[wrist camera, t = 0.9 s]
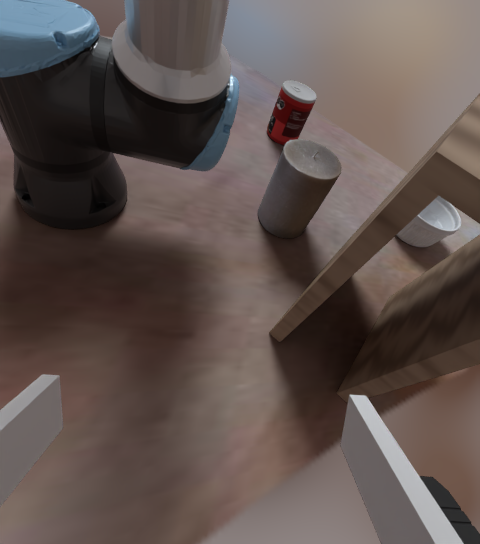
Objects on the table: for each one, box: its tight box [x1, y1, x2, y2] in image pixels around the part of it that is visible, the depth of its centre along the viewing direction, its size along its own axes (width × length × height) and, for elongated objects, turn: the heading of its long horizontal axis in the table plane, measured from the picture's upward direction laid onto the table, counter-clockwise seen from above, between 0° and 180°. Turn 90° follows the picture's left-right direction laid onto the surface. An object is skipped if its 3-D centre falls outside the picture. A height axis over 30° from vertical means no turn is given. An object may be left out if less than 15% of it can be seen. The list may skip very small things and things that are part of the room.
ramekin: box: [396, 196, 461, 247], centre depth 62 cm, size 13×13×7 cm
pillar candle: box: [258, 139, 341, 238], centre depth 50 cm, size 10×10×15 cm
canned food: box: [267, 80, 316, 145], centre depth 67 cm, size 8×8×11 cm
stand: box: [269, 94, 480, 403], centre depth 35 cm, size 22×14×30 cm, turn 140°
